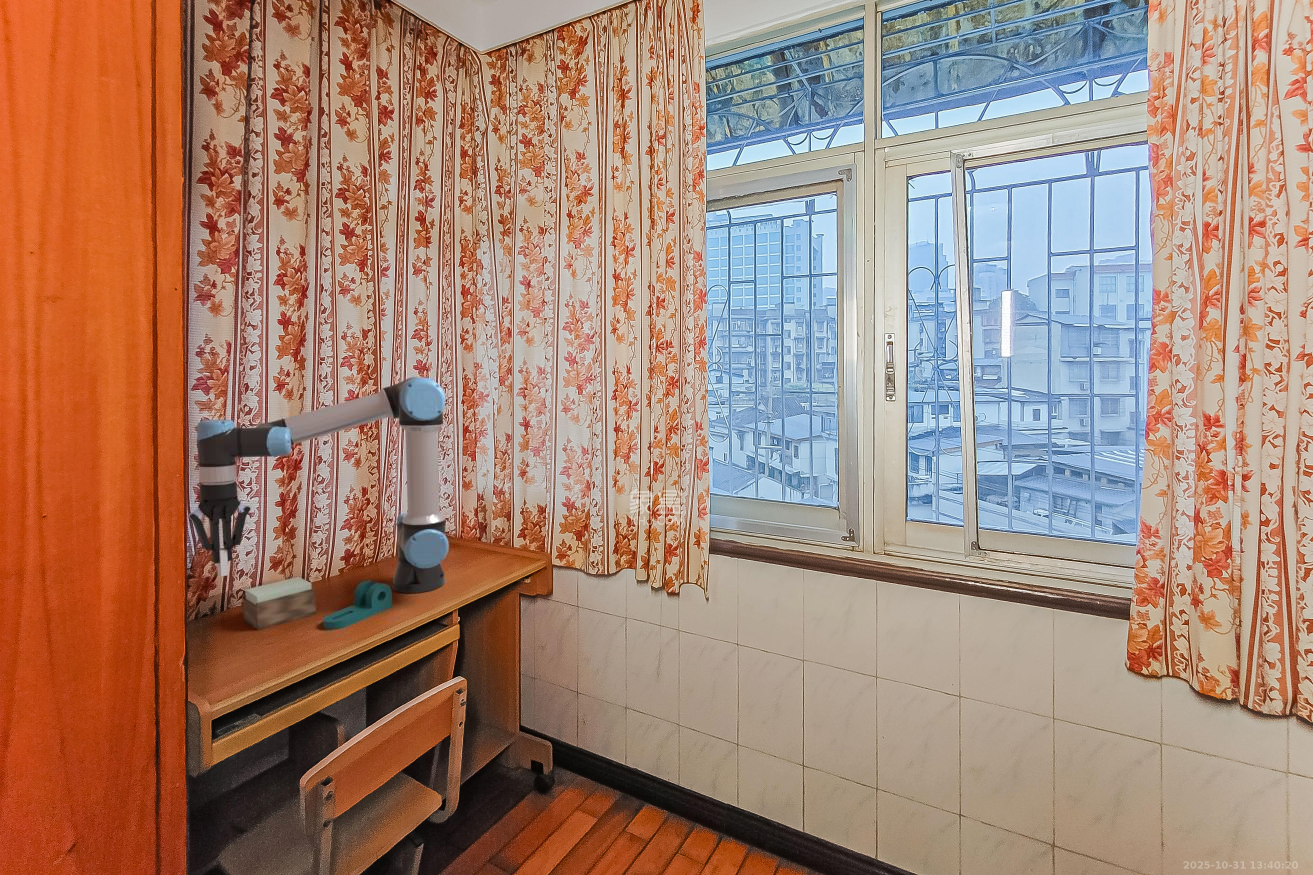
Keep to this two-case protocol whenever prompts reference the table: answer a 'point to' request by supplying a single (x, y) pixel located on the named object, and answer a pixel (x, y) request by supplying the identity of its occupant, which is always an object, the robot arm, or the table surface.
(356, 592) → the bracket
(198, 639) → the table surface
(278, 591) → the lid
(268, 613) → the box
